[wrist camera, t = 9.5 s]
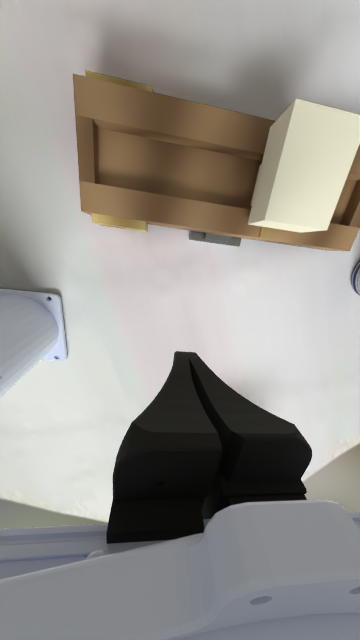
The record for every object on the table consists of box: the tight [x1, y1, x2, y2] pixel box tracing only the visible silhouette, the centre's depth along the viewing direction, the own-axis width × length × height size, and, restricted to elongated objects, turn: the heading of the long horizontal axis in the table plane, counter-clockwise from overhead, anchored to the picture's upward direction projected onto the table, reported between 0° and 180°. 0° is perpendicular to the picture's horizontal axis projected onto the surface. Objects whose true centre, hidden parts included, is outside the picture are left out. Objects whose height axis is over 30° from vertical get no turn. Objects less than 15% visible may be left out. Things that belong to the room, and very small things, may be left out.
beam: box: [73, 70, 360, 251], centre depth 15 cm, size 22×8×3 cm, turn 83°
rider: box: [248, 99, 360, 233], centre depth 13 cm, size 4×6×4 cm
